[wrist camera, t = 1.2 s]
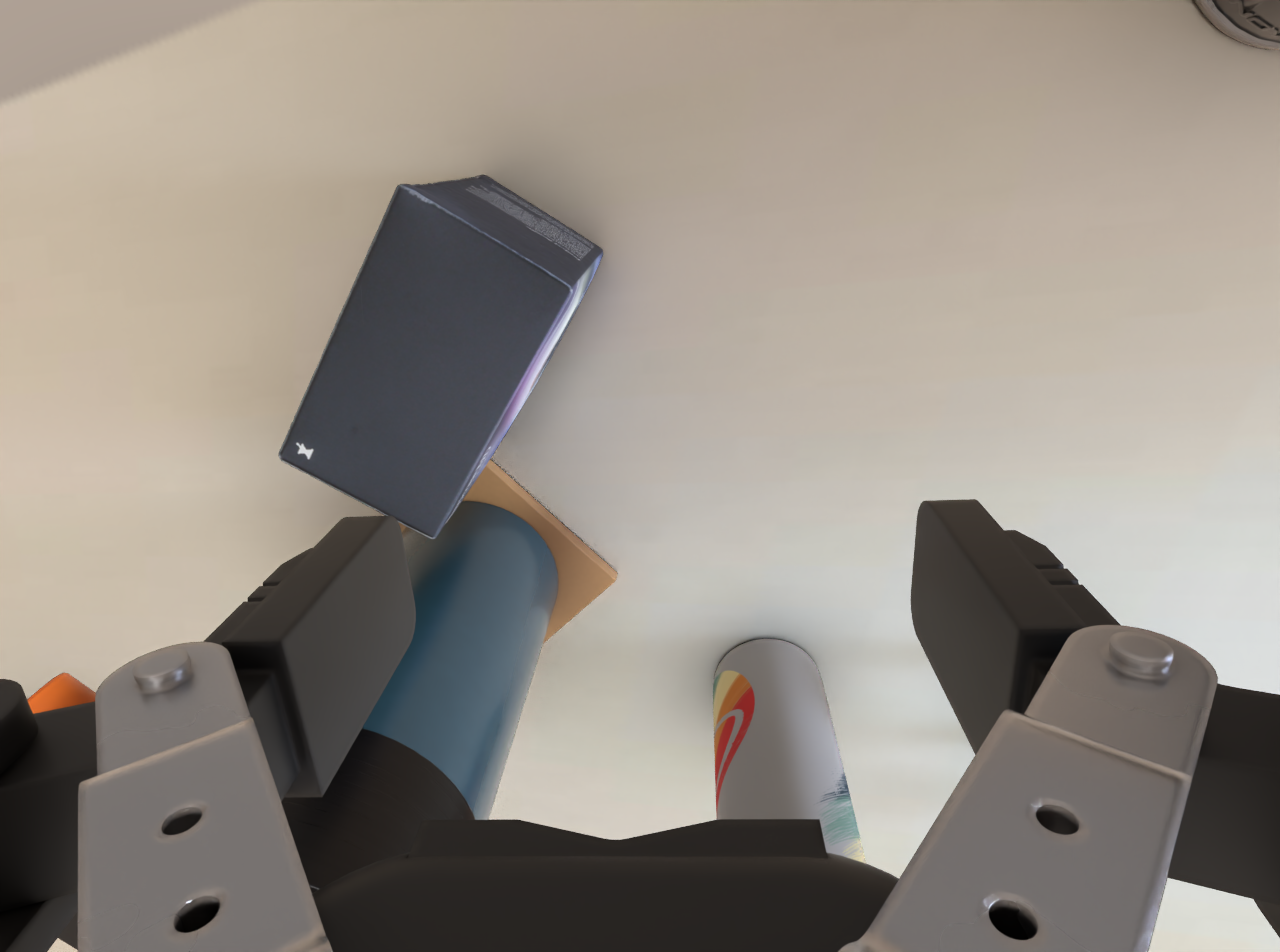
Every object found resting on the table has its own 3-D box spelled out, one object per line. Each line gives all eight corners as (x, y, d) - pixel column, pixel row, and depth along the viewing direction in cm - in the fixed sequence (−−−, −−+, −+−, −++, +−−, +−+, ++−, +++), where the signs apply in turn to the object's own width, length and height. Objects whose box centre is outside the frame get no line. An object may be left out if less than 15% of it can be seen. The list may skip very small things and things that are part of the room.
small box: (503, 448, 37) (436, 552, 27) (379, 378, 36) (264, 461, 27) (614, 252, 33) (581, 293, 24) (479, 168, 32) (387, 175, 23)
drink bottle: (306, 534, 39) (-191, 1023, 17) (414, 417, 36) (-14, 821, 14) (485, 679, 41) (254, 1261, 20) (599, 580, 39) (476, 1130, 17)
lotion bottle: (694, 700, 42) (693, 1128, 24) (741, 619, 40) (780, 1020, 21) (789, 738, 43) (861, 1185, 24) (840, 660, 40) (962, 1085, 22)
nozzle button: (36, 708, 22) (-46, 776, 19) (81, 654, 21) (1, 719, 18) (129, 771, 22) (61, 845, 20) (176, 721, 21) (110, 793, 19)
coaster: (344, 565, 40) (338, 572, 39) (467, 438, 37) (462, 443, 36) (490, 682, 42) (486, 692, 42) (617, 572, 39) (616, 580, 39)
